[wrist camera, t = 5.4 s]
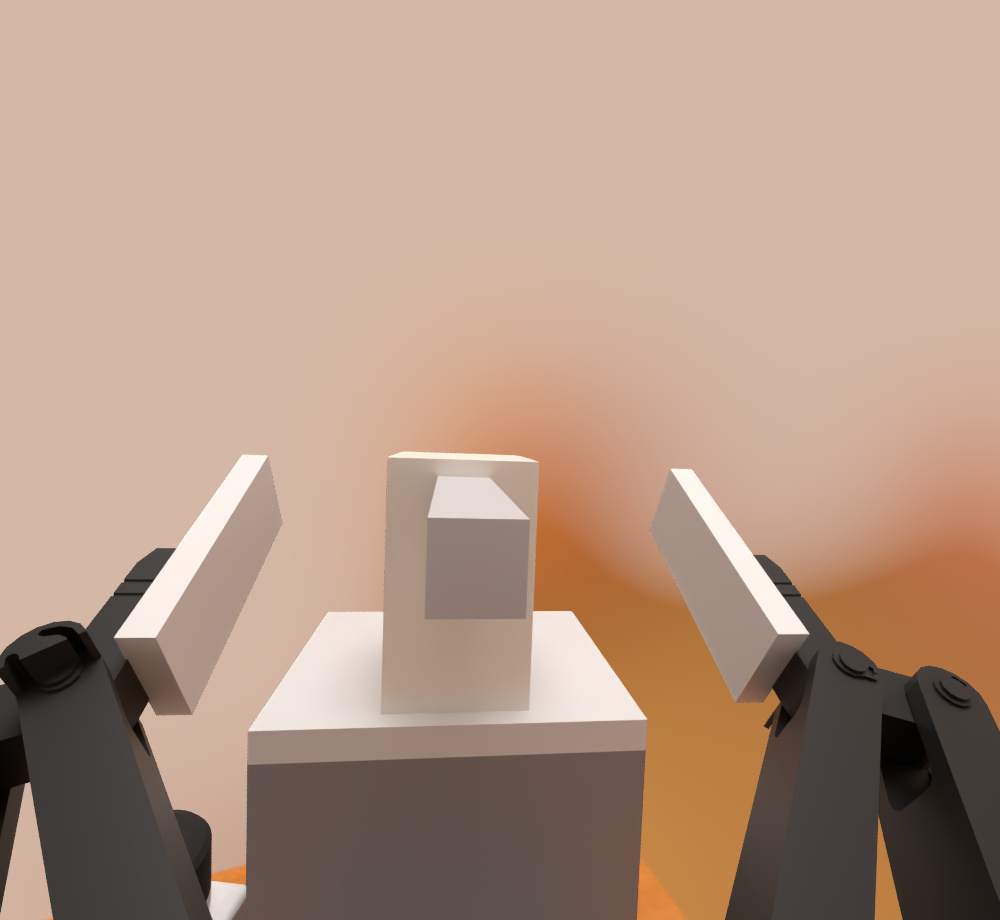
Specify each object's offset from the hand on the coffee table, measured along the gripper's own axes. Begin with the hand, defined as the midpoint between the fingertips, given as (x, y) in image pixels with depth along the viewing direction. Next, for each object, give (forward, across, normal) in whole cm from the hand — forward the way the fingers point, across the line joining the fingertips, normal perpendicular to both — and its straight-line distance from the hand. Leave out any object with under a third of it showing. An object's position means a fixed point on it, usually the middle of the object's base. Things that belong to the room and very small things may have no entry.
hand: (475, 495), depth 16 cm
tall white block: (-2, 0, -12) cm, 12 cm away
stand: (-6, 0, -35) cm, 35 cm away
